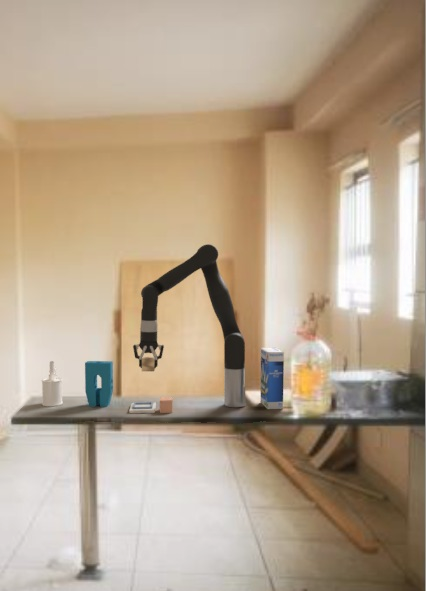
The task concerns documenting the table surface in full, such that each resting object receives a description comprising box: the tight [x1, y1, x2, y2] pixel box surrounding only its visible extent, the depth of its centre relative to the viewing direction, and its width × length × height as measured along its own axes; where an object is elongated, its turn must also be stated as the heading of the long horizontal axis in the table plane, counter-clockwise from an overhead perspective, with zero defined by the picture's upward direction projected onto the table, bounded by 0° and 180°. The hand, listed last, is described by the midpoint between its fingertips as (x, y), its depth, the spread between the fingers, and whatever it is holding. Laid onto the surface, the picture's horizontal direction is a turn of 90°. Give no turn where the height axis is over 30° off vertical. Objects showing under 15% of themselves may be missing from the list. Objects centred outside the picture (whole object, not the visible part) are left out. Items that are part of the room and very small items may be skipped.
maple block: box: [141, 356, 156, 372], centre depth 233 cm, size 6×6×6 cm
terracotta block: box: [159, 396, 174, 414], centre depth 229 cm, size 6×6×6 cm
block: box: [84, 360, 114, 408], centre depth 239 cm, size 12×5×20 cm, turn 85°
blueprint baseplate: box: [128, 401, 157, 414], centre depth 233 cm, size 11×13×2 cm
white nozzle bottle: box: [41, 360, 64, 408], centre depth 241 cm, size 10×9×20 cm
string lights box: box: [260, 347, 285, 410], centre depth 238 cm, size 13×8×26 cm, turn 10°
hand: (148, 367), depth 233 cm, fingers closed on maple block, 5 cm apart
